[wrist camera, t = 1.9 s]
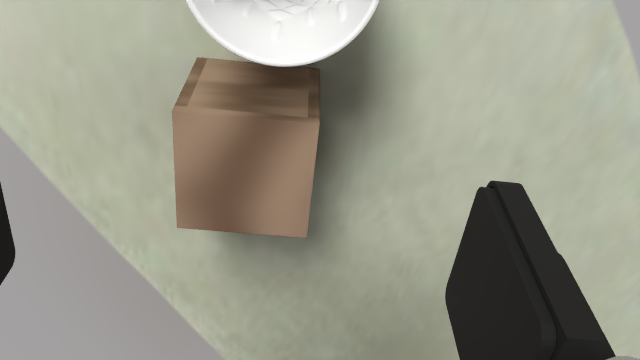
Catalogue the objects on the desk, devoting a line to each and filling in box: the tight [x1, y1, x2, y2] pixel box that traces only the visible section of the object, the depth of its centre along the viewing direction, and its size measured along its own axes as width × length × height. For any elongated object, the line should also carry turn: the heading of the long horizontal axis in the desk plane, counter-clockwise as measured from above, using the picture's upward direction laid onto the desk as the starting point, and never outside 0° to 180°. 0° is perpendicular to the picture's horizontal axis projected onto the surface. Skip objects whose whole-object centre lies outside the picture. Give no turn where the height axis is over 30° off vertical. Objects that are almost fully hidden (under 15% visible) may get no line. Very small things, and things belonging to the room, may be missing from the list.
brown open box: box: [172, 57, 320, 238], centre depth 33 cm, size 7×7×7 cm
